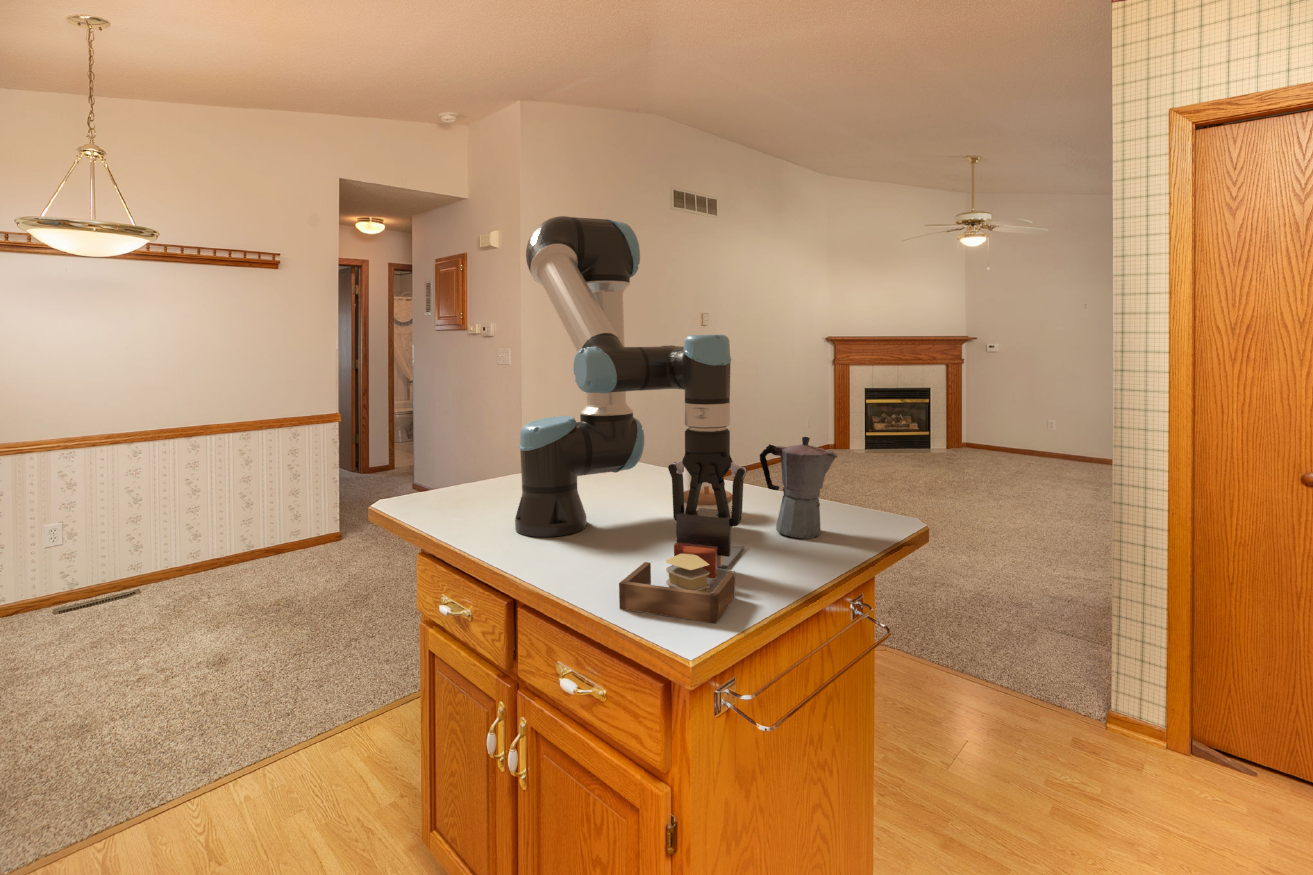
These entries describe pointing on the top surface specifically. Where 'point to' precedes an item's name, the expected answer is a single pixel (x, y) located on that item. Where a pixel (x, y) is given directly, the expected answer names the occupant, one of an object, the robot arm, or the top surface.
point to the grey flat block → (732, 556)
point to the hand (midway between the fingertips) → (707, 561)
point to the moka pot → (799, 486)
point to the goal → (674, 597)
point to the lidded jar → (708, 499)
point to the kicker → (703, 536)
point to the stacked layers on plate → (687, 572)
